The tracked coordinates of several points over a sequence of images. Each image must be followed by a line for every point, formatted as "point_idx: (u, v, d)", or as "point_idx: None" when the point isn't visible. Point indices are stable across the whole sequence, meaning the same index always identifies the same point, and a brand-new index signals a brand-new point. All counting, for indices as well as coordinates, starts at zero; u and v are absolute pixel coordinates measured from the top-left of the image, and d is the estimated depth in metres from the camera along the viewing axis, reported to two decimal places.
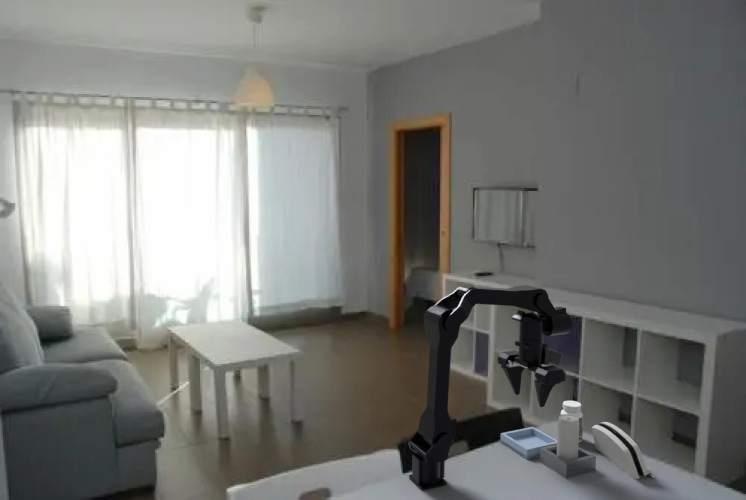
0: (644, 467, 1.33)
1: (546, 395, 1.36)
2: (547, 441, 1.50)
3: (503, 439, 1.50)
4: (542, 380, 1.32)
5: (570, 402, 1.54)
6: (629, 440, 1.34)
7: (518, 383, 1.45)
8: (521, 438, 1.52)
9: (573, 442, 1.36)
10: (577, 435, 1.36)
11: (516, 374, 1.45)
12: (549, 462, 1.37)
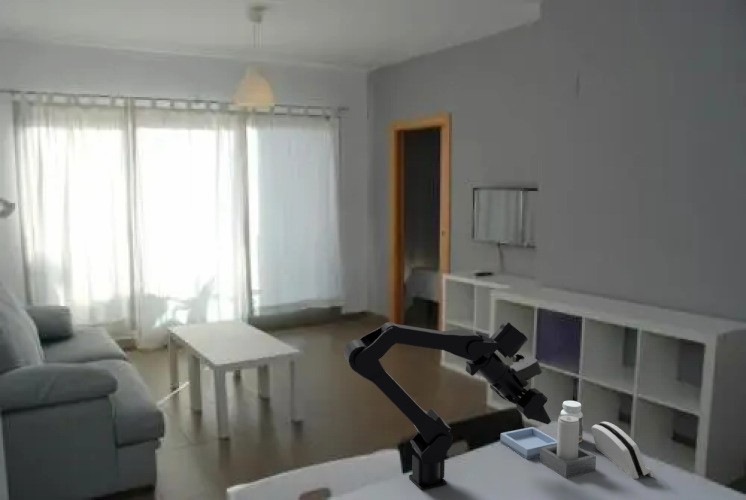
0: (643, 467, 1.33)
1: (544, 415, 1.30)
2: (547, 441, 1.50)
3: (503, 439, 1.50)
4: (525, 416, 1.26)
5: (570, 402, 1.54)
6: (628, 440, 1.35)
7: None
8: (521, 438, 1.52)
9: (573, 442, 1.36)
10: (577, 435, 1.36)
11: None
12: (549, 462, 1.37)
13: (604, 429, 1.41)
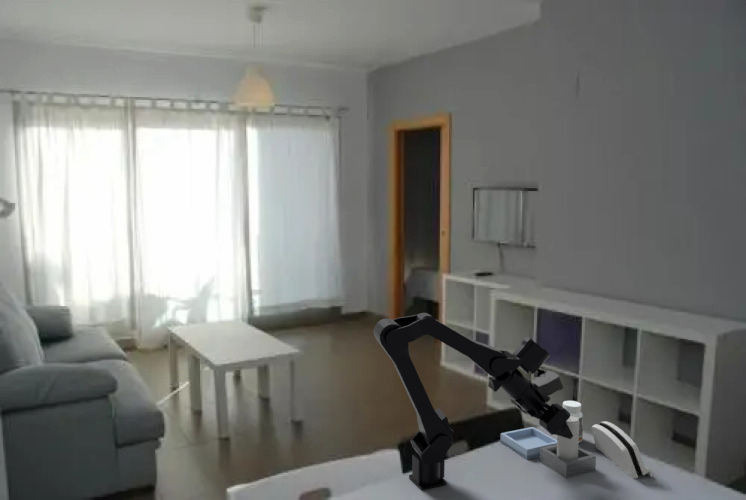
0: (643, 466, 1.33)
1: (566, 429, 1.31)
2: (547, 441, 1.50)
3: (503, 439, 1.50)
4: None
5: (570, 402, 1.54)
6: (628, 439, 1.35)
7: None
8: (521, 438, 1.52)
9: (573, 442, 1.36)
10: (577, 435, 1.36)
11: None
12: (549, 462, 1.37)
13: (604, 429, 1.41)
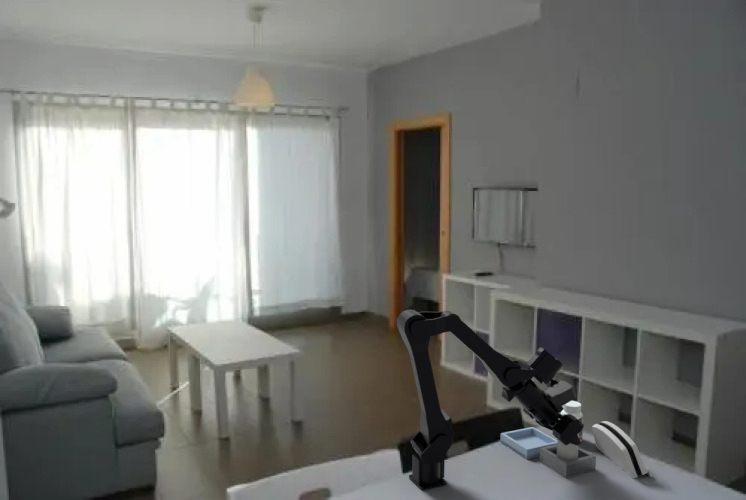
0: (642, 466, 1.33)
1: (574, 436, 1.34)
2: (547, 441, 1.50)
3: (503, 439, 1.50)
4: (562, 442, 1.28)
5: (570, 402, 1.54)
6: (627, 439, 1.35)
7: None
8: (521, 438, 1.52)
9: None
10: None
11: (553, 421, 1.40)
12: (549, 462, 1.37)
13: (604, 428, 1.41)
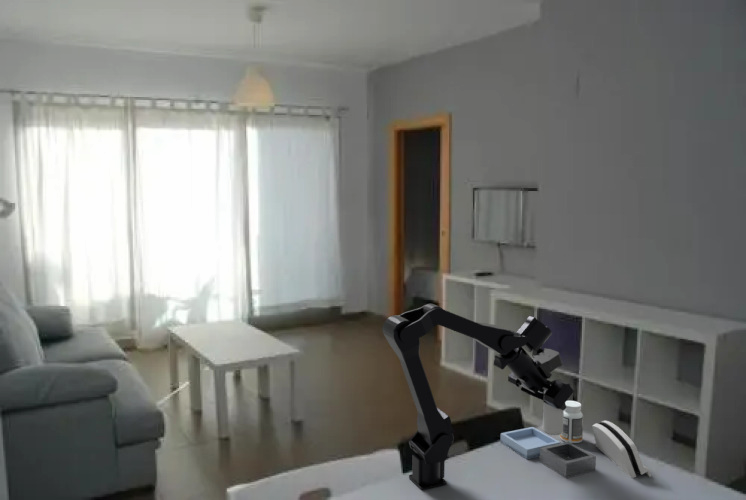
0: (641, 466, 1.33)
1: None
2: (547, 441, 1.50)
3: (503, 439, 1.50)
4: (554, 406, 1.32)
5: (570, 402, 1.54)
6: (626, 439, 1.35)
7: None
8: (521, 438, 1.52)
9: None
10: None
11: None
12: (549, 462, 1.37)
13: (603, 428, 1.41)
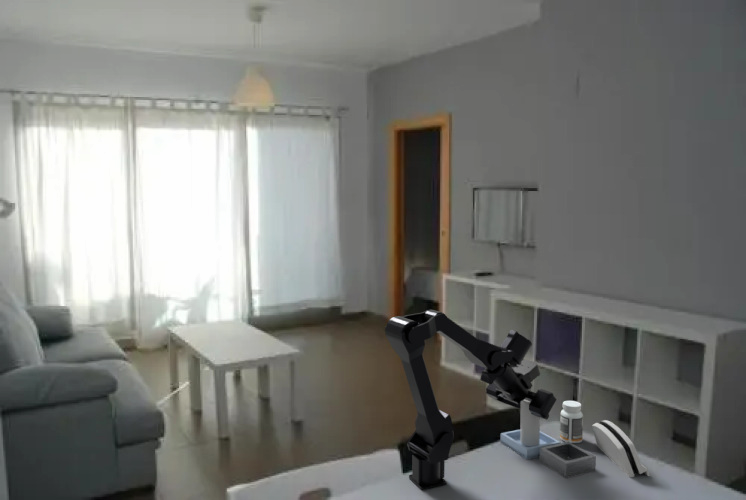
0: (639, 465, 1.33)
1: None
2: (547, 441, 1.50)
3: (503, 439, 1.50)
4: (539, 416, 1.38)
5: (570, 402, 1.54)
6: (625, 438, 1.36)
7: None
8: None
9: (537, 420, 1.46)
10: None
11: None
12: (549, 462, 1.37)
13: (603, 427, 1.42)
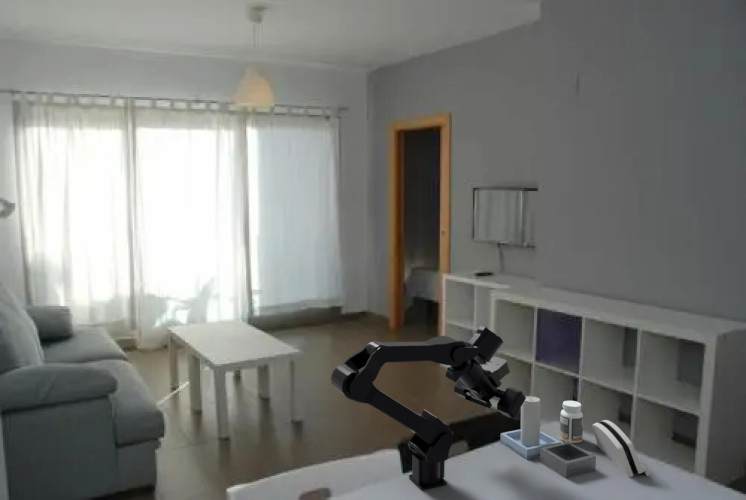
0: (638, 465, 1.34)
1: None
2: (547, 441, 1.50)
3: (503, 439, 1.50)
4: (508, 415, 1.31)
5: (570, 402, 1.54)
6: (624, 438, 1.36)
7: None
8: None
9: (537, 420, 1.46)
10: None
11: None
12: (549, 462, 1.37)
13: (602, 427, 1.42)
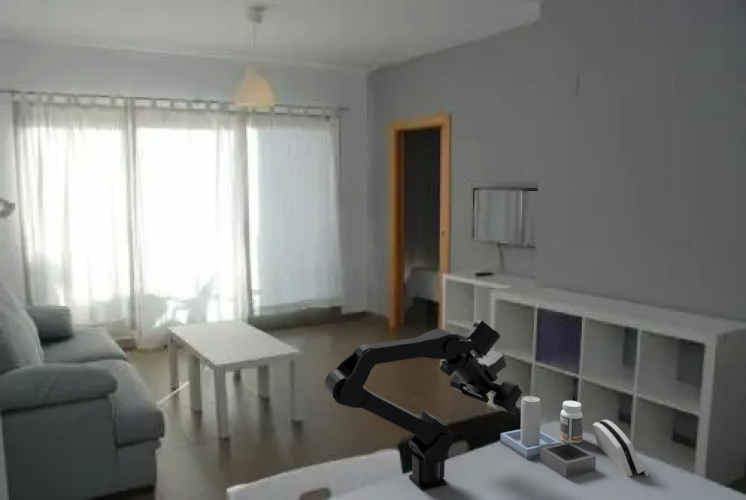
0: (637, 465, 1.34)
1: (514, 405, 1.34)
2: (547, 441, 1.50)
3: (503, 439, 1.50)
4: (504, 410, 1.29)
5: (570, 402, 1.54)
6: (623, 437, 1.36)
7: None
8: None
9: (538, 420, 1.46)
10: None
11: None
12: (549, 462, 1.37)
13: (602, 426, 1.42)
